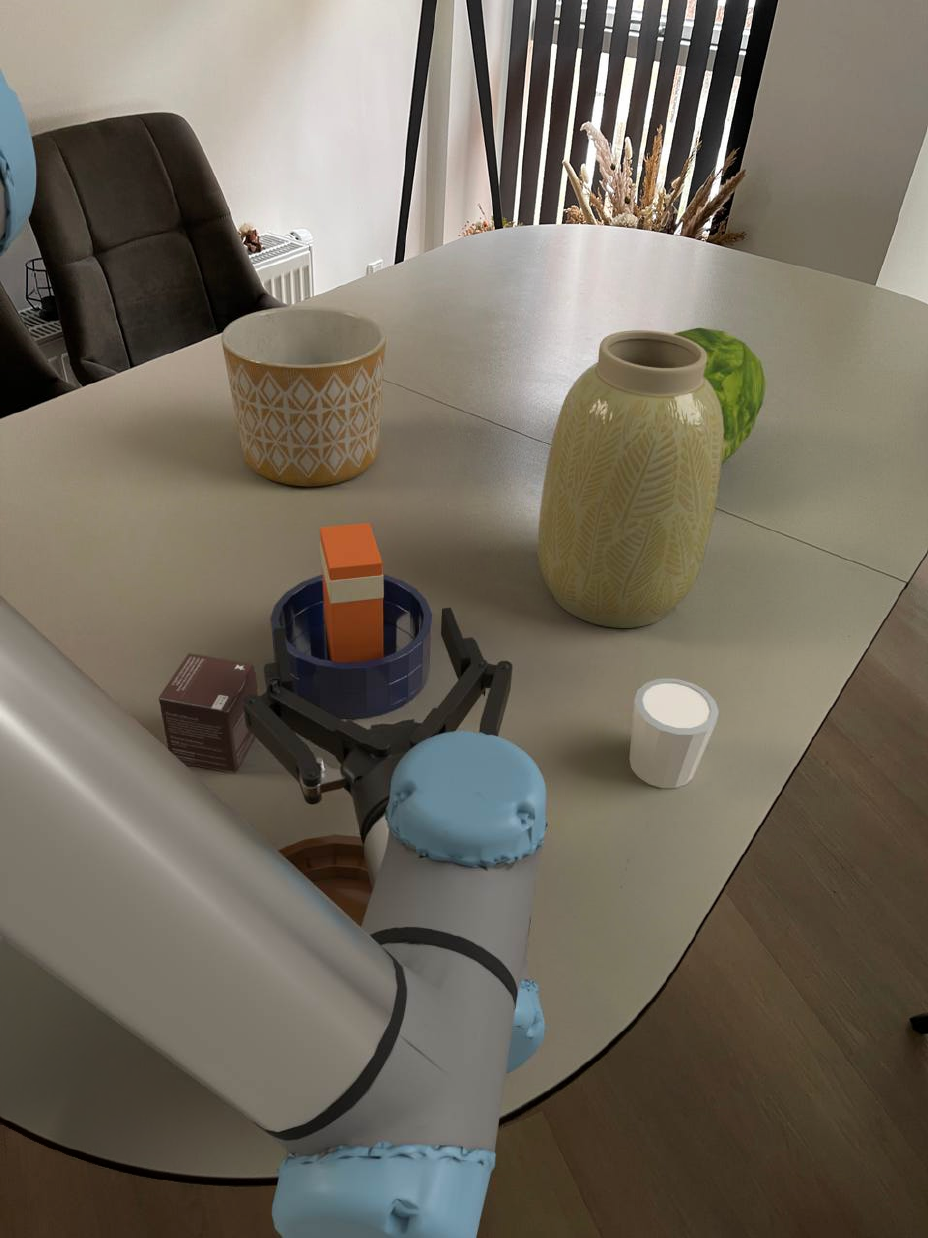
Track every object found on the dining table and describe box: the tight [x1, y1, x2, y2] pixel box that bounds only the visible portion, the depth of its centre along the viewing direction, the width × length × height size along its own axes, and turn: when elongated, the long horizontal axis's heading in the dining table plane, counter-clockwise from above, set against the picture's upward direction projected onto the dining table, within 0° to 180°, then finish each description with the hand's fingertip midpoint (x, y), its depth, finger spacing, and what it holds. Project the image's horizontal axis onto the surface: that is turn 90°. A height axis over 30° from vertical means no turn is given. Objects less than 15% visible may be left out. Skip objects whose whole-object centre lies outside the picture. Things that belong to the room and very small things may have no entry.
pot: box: [269, 573, 433, 720], centre depth 89 cm, size 15×15×6 cm
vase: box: [537, 329, 724, 629], centre depth 94 cm, size 17×17×27 cm
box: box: [157, 652, 259, 774], centre depth 79 cm, size 6×6×7 cm
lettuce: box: [673, 327, 767, 466], centre depth 120 cm, size 17×23×16 cm
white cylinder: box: [629, 677, 720, 789], centre depth 80 cm, size 7×7×7 cm
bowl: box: [277, 834, 372, 927], centre depth 65 cm, size 15×15×4 cm
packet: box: [319, 522, 384, 663], centre depth 86 cm, size 5×7×13 cm
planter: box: [220, 305, 387, 487], centre depth 118 cm, size 19×19×16 cm
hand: (364, 630), depth 77 cm, fingers open, 13 cm apart
